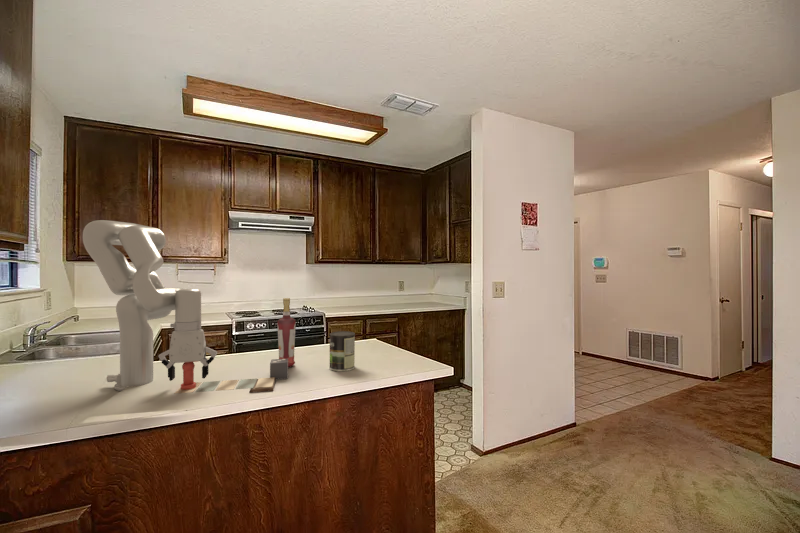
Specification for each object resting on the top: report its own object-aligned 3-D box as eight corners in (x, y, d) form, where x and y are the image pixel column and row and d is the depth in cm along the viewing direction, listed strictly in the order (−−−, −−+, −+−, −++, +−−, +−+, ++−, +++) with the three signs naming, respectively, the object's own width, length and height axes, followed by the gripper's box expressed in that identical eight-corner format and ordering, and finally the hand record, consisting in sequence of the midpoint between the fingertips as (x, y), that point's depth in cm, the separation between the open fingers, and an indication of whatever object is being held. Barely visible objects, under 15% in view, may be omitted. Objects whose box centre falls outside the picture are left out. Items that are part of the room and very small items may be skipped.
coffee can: (331, 372, 149) (331, 336, 149) (327, 365, 159) (327, 331, 159) (357, 370, 152) (357, 334, 152) (352, 364, 162) (352, 330, 162)
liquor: (295, 368, 155) (295, 299, 155) (276, 369, 154) (276, 299, 154) (296, 363, 163) (296, 297, 162) (277, 364, 161) (277, 297, 161)
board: (172, 398, 120) (172, 394, 120) (183, 386, 132) (183, 382, 132) (273, 390, 127) (273, 386, 127) (275, 380, 139) (275, 376, 139)
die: (270, 379, 139) (270, 363, 139) (271, 375, 145) (271, 359, 145) (287, 378, 141) (287, 362, 141) (287, 374, 147) (287, 358, 147)
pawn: (178, 390, 124) (178, 362, 124) (183, 386, 128) (183, 359, 128) (193, 389, 125) (193, 362, 125) (197, 385, 129) (197, 358, 129)
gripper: (154, 329, 121) (154, 383, 121) (214, 327, 125) (214, 379, 125) (163, 325, 128) (163, 377, 128) (219, 323, 132) (219, 373, 132)
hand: (188, 378), depth 127 cm, fingers open, 9 cm apart
